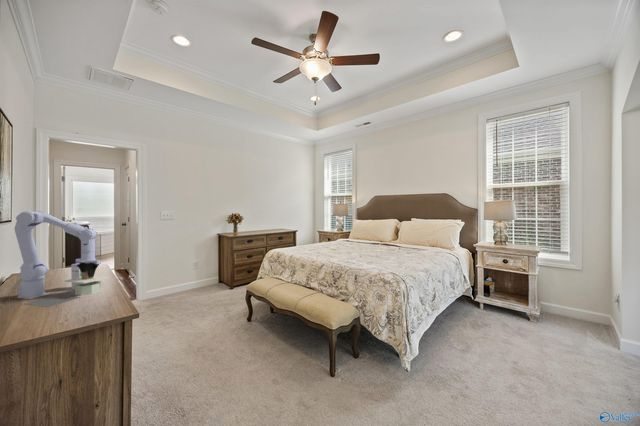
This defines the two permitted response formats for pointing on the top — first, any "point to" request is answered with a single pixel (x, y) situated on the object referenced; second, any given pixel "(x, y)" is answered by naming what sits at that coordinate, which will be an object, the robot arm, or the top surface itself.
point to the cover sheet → (79, 280)
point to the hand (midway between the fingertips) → (88, 276)
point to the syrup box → (75, 273)
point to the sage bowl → (88, 288)
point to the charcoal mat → (51, 300)
